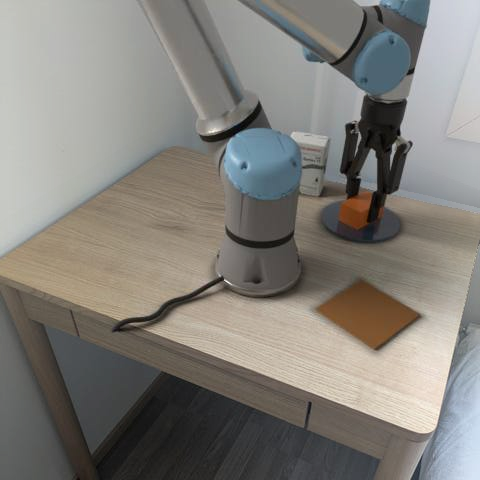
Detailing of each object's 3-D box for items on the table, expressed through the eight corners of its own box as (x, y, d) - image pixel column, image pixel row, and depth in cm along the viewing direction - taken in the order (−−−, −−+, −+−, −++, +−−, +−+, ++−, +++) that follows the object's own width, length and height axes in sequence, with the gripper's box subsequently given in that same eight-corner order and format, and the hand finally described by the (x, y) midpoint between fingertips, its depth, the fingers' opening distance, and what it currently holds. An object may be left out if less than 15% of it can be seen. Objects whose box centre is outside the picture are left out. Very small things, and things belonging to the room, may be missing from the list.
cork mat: (374, 350, 74) (375, 348, 74) (315, 310, 81) (315, 308, 81) (419, 316, 80) (420, 314, 80) (361, 281, 87) (361, 279, 87)
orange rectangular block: (357, 230, 98) (361, 212, 95) (338, 220, 101) (341, 202, 98) (381, 217, 102) (385, 199, 99) (362, 207, 105) (366, 190, 102)
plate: (366, 252, 94) (367, 249, 93) (304, 218, 102) (305, 215, 102) (414, 223, 102) (415, 221, 101) (353, 194, 110) (354, 192, 110)
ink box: (281, 190, 111) (285, 139, 103) (287, 181, 114) (291, 130, 106) (319, 197, 109) (326, 145, 101) (324, 187, 112) (331, 136, 104)
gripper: (443, 105, 82) (408, 226, 98) (358, 79, 92) (338, 192, 108) (418, 116, 78) (385, 239, 94) (332, 87, 88) (315, 203, 104)
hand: (360, 214), depth 101 cm, fingers closed on orange rectangular block, 5 cm apart
